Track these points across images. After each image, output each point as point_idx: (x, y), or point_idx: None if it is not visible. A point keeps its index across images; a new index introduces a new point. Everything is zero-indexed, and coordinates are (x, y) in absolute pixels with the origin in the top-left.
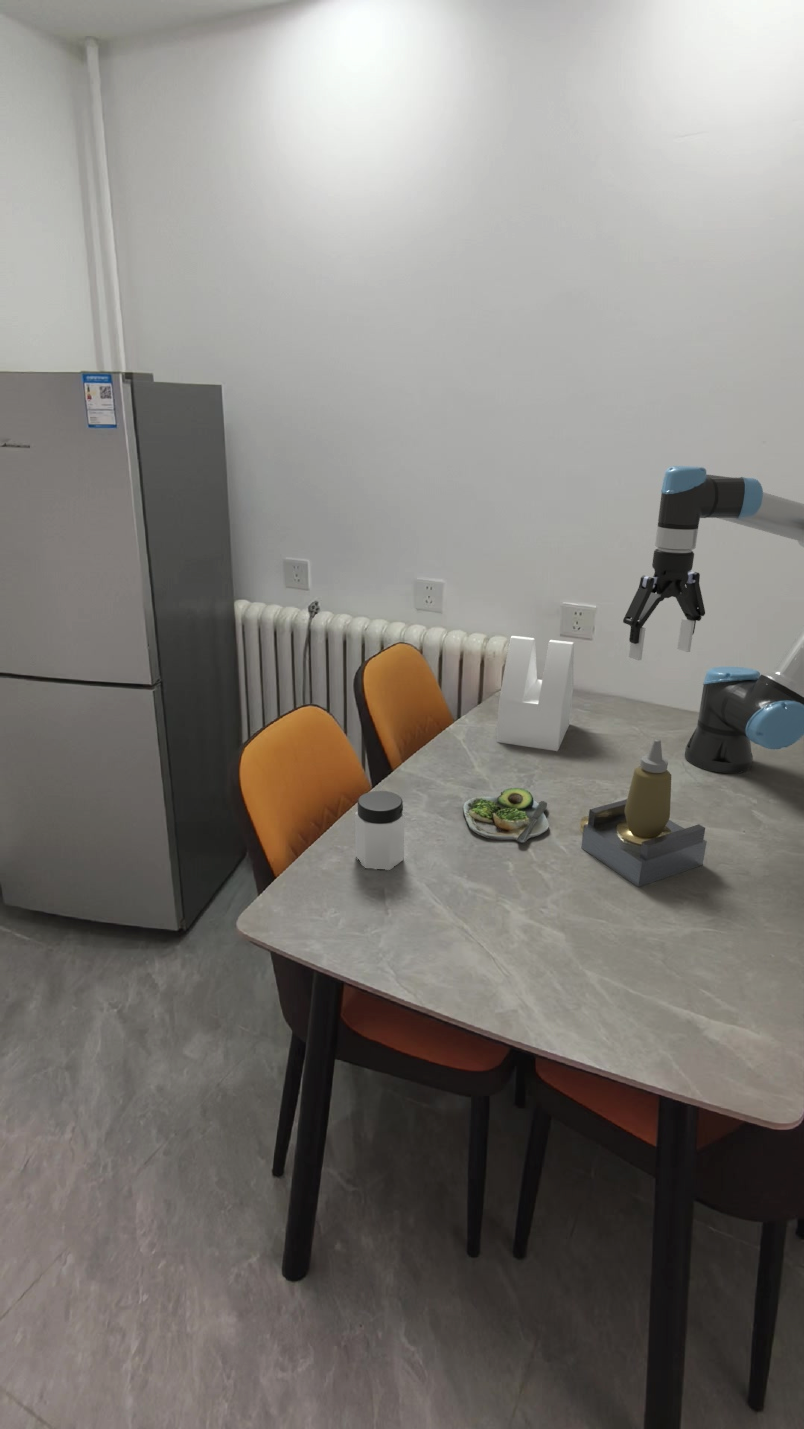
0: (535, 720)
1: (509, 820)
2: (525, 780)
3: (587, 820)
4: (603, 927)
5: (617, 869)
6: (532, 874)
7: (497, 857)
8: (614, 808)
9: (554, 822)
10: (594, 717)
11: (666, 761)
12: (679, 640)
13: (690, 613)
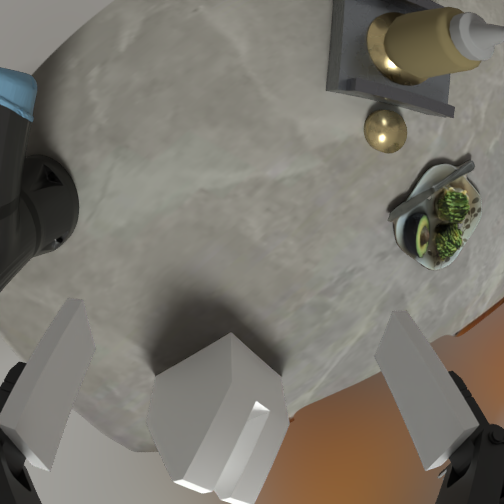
0: (255, 381)
1: (466, 197)
2: (342, 285)
3: (392, 143)
4: None
5: None
6: (489, 118)
7: (491, 163)
8: (424, 96)
9: (405, 178)
10: (111, 373)
11: (467, 15)
12: (82, 374)
13: (12, 484)
